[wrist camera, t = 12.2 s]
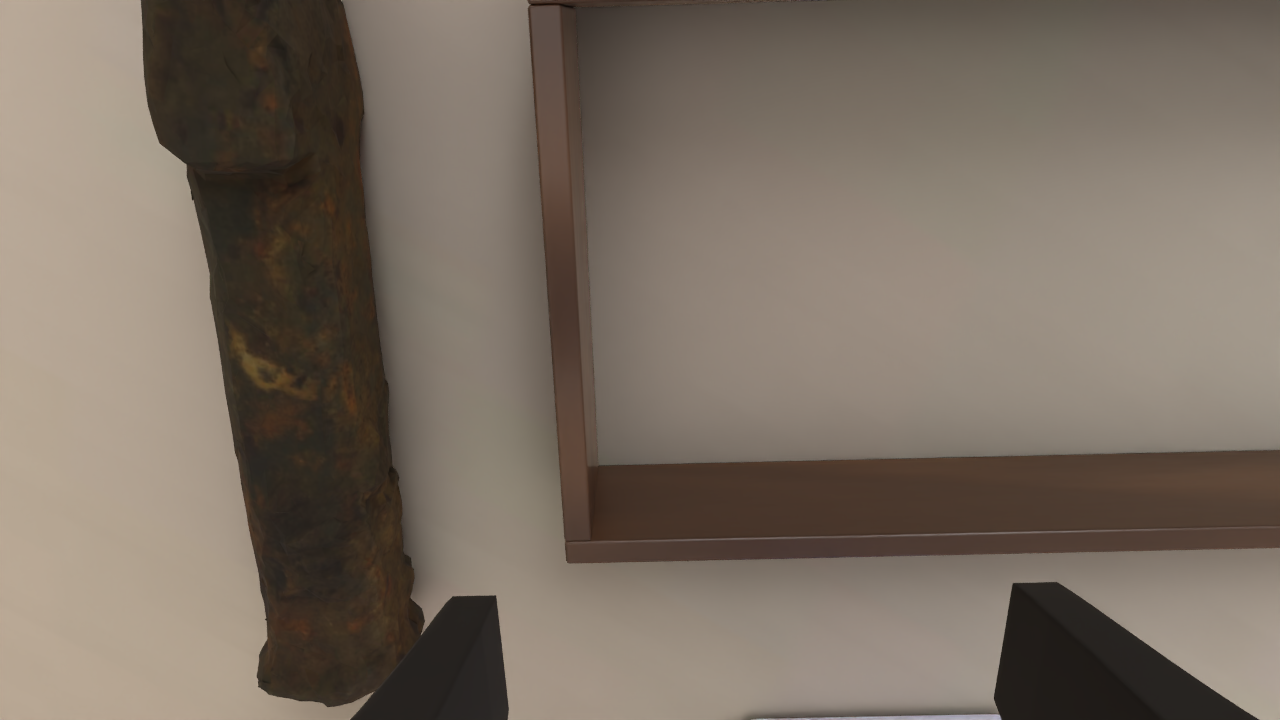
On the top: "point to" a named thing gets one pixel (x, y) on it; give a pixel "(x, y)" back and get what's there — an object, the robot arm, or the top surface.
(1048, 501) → the storage box
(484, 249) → the top surface
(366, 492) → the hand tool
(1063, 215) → the top surface
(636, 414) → the top surface
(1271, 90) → the top surface
